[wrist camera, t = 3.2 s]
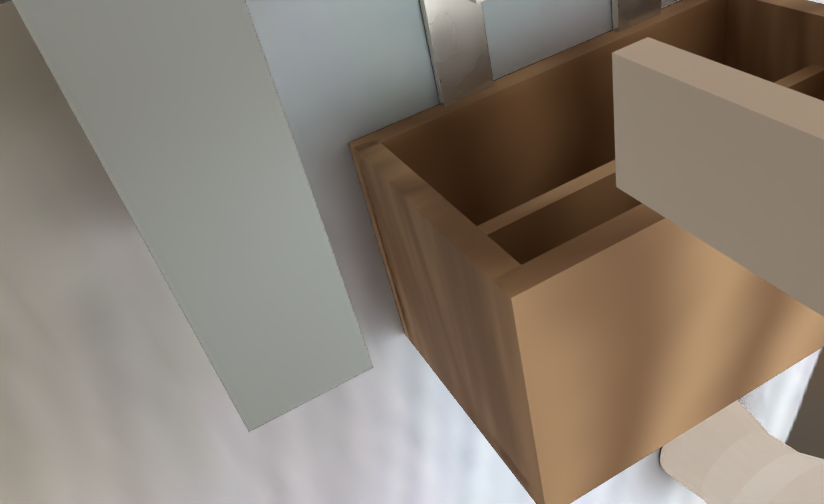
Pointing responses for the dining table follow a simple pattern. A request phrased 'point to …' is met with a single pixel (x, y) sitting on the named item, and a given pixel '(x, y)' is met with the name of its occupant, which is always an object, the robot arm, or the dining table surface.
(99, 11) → the door
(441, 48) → the hinge clips
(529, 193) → the cabinet
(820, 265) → the robot arm
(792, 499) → the cup
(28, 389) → the dining table surface
